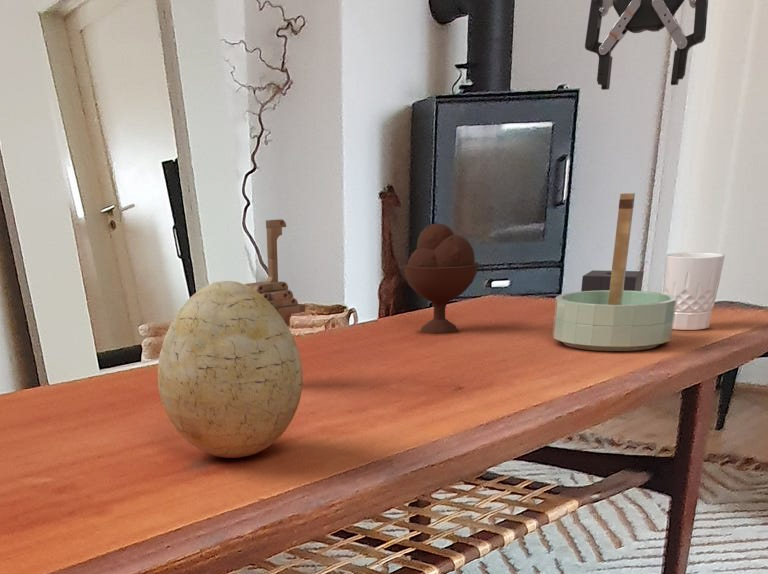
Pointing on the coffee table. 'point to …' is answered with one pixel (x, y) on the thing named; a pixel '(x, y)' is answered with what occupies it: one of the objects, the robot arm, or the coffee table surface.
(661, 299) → the mixing bowl
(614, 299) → the stirring stick
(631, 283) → the utensil holder
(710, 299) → the white cup
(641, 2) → the robot arm
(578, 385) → the coffee table surface
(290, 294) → the wooden hook post
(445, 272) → the ice cream bowl
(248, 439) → the fossilized egg
